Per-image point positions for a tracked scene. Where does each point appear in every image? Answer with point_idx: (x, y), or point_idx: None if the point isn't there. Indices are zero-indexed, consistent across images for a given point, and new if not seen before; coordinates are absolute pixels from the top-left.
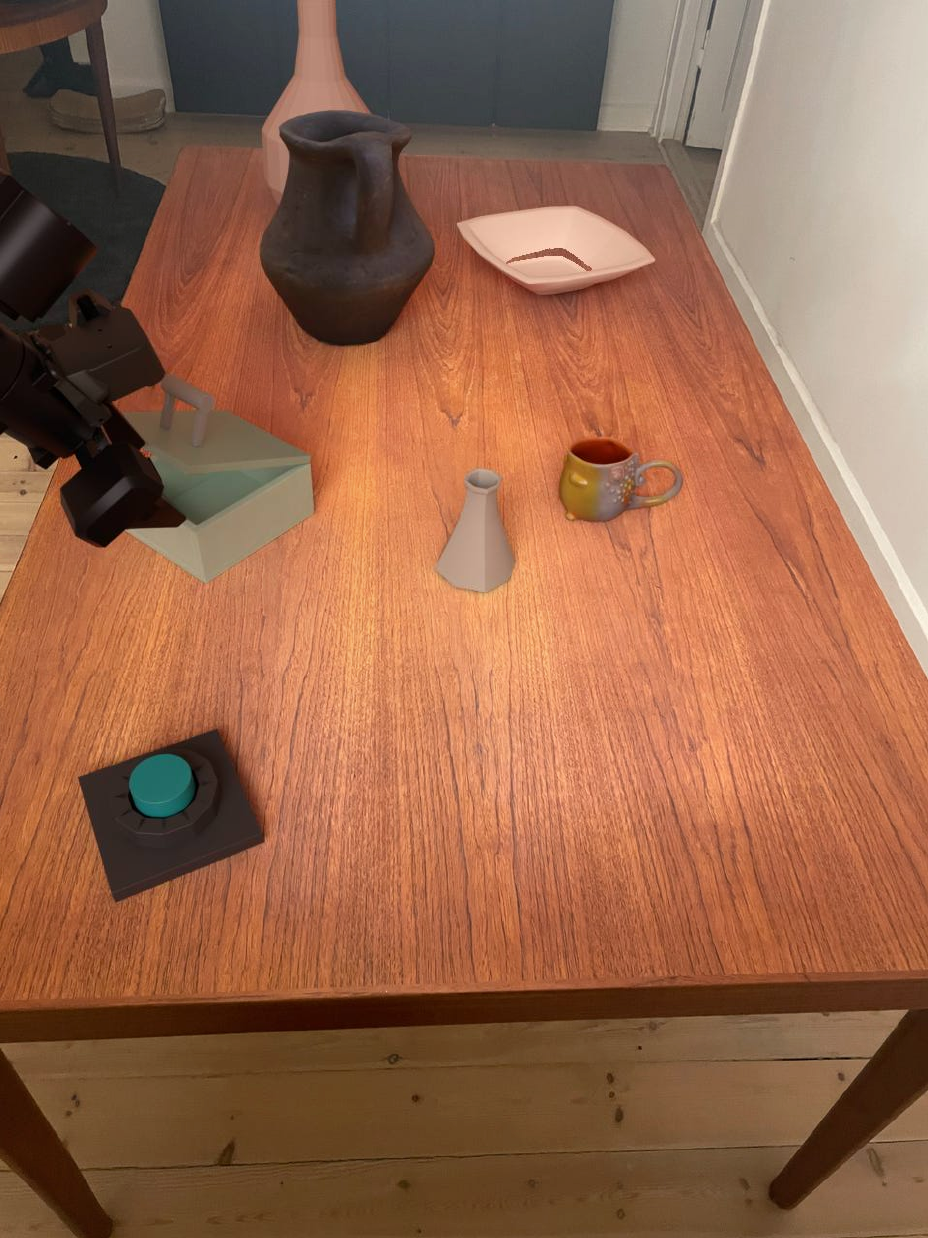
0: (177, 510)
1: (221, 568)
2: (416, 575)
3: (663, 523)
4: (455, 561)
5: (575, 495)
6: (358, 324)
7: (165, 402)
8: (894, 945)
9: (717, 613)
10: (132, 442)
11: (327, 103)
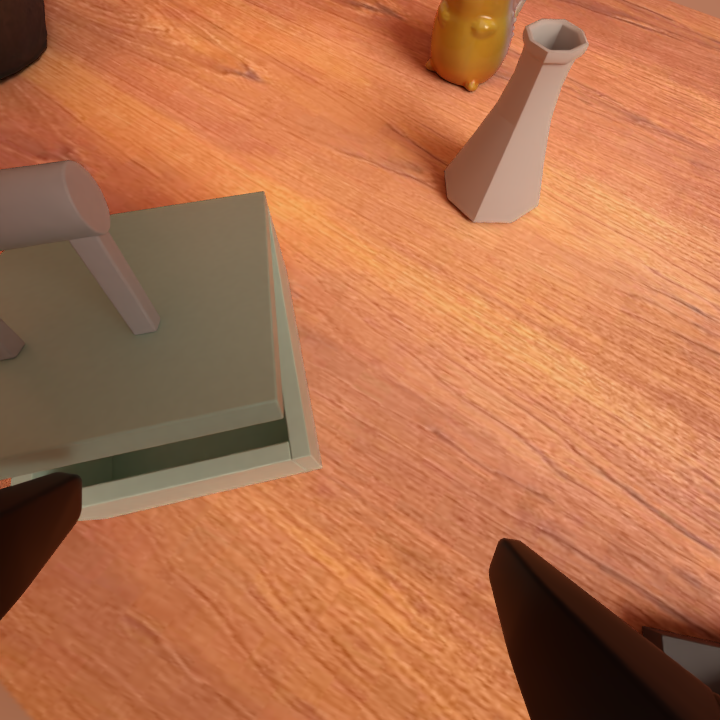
0: (595, 599)
1: (315, 433)
2: (466, 243)
3: (521, 45)
4: (511, 193)
5: (483, 51)
6: (13, 17)
7: None
8: None
9: (654, 84)
10: (43, 531)
11: None
